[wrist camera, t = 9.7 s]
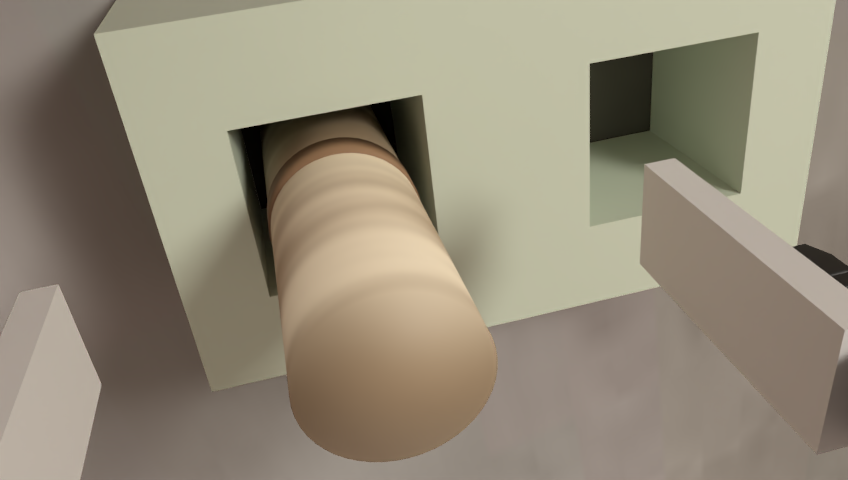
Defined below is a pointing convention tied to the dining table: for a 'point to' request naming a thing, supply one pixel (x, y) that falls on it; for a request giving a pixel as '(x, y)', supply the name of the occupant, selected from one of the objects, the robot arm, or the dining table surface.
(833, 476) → the dining table surface
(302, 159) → the dowel
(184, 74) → the pale green holed block
